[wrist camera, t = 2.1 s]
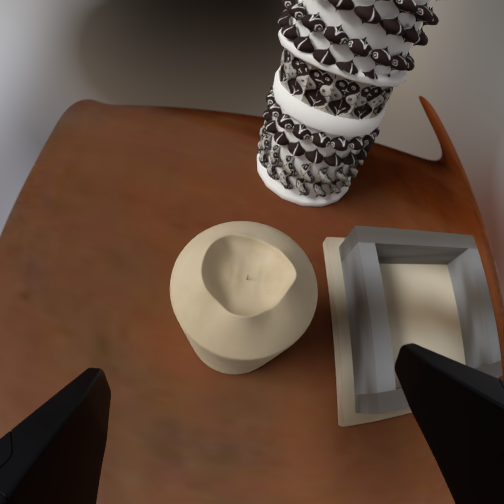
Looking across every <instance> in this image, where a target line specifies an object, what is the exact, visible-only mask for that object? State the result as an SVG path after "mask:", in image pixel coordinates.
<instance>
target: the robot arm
mask: <svg viewBox="0 0 504 504" xmlns="http://www.w3.org/2000/svg"><path fill="white" fill-rule="evenodd" d="M395 372H396V375H397V377H398V380H399V382H400V385H401V387H402V390H403V392H404V395H405V397H406V400H407V402H408V405H409V407H410V409H411V411H412V413H413V415H414V417H415V419H416V421H417V423H418V425H419V427H420V429H421V431H422V433H423V435H424V437H425V439H426V441H427V443H428V445H429V447H430V449H431V451H432V453H433V455H434V457H435V459H436V462H437V464H438V466H439V468H440V470H441V472H442V474H443V477H444V479H445V481H446V483H447V485H448V488H449V490H450V492H451V494H452V497H453V499H454V501H455V504H504V380H501V379H498V378H496V377H494V376H491V375H489V374H486V373H484V372H481V371H479V370H476V369H474V368H472V367H469V366H467V365H464V364H462V363H460V362H457V361H455V360H452V359H450V358H448V357H445V356H443V355H440V354H438V353H436V352H433V351H431V350H429V349H426V348H424V347H422V346H419V345H417V344H415V343H409V344H405V345H403V346H402V347H401V348H400V350H399V354H398V357H397V360H396V363H395ZM110 399H111V391H110V387H109V385H108V382H107V379H106V376H105V373H104V371H103V370H102V369H100V368H88V369H87V370H86V371H84V372H83V373H82V374H80V375H79V376H78V377H77V378H75V379H74V380H73V381H72V382H70V383H69V384H68V385H67V386H65V387H64V388H63V389H62V390H60V391H59V392H58V393H57V394H55V395H54V396H53V397H52V398H50V399H49V400H48V401H47V402H45V403H44V404H43V405H42V406H40V407H39V408H38V409H37V410H35V411H34V412H33V413H32V414H31V415H29V416H28V417H27V418H26V419H24V420H23V421H22V422H21V423H19V424H18V425H17V426H16V427H14V428H13V429H12V430H11V432H10V431H9V432H8V433H7V434H6V435H4V436H3V437H2V438H1V439H0V504H96V500H97V493H98V486H99V480H100V474H101V468H102V462H103V457H104V451H105V446H106V440H107V431H108V419H109V409H110Z"/></svg>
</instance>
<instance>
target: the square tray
mask: <svg viewBox="0 0 504 504" xmlns="http://www.w3.org/2000/svg"><path fill="white" fill-rule="evenodd" d="M323 250H324V257H325V265H326V273H327V281H328V290H329V299H330V308H331V318H332V329H333V341H334V354H335V368H336V384H337V405H338V426H343V427H345V426H351V425H357V424H363V423H368V422H373V421H378V420H382V419H387V418H391V417H395V416H400V415H404V414H408V413H411V412H412V411H411V409H410V407H409V405H408V402H407V400H406V397H405V395H404V392H403V390H402V387H401V385H400V382H399V380H398V377H397V375H396V372H395V363H396V360H397V357H398V354H399V350H400V348H401V347H402V346H403V345H405V344H409V343H415V344H417V345H419V346H422V347H424V348H426V349H429V350H431V351H433V352H436V353H438V354H440V355H443V356H445V357H448V358H450V359H452V360H455V361H457V362H460V363H462V364H464V365H467V366H469V367H472V368H474V369H476V370H479V371H481V372H484V373H486V374H489V375H491V376H494V377H496V378H498V377H501V376H503V372H502V362H501V353H500V346H499V339H498V333H497V327H496V321H495V316H494V311H493V306H492V301H491V297H490V293H489V288H488V284H487V280H486V277H485V273H484V269H483V266H482V262H481V259H480V255H479V252H478V249H477V246H476V243H475V240H474V237H473V236H472V235H463V234H453V233H442V232H431V231H420V230H408V229H396V228H383V227H369V226H354V227H353V229H352V230H351V231H350V233H349V234H348V235H347V237H346V238H335V237H327V238H326V239H325V241H324V242H323Z"/></svg>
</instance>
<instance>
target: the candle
mask: <svg viewBox="0 0 504 504" xmlns="http://www.w3.org/2000/svg"><path fill="white" fill-rule="evenodd" d="M170 297H171V302H172V307H173V310H174V313H175V315H176V317H177V319H178V321H179V323H180V325H181V327H182V329H183V331H184V332H185V334H186V336H187V338H188V340H189V342H190V343H191V345H192V347H193V349H194V350H195V352H196V354H197V355H198V356H199V358H200V359H201V360H202V361H203V362H204V363H205V364H207V365H208V366H209V367H211V368H212V369H214V370H216V371H219V372H222V373H226V374H244V373H248V372H251V371H253V370H256V369H257V368H259V367H261V366H263V365H264V364H266V363H267V362H268V361H270V360H271V359H273V358H274V357H276V356H277V355H279V354H280V353H282V352H283V351H284V350H286V349H287V348H289V347H290V346H291V345H292V344H294V343H295V342H296V341H297V340H298V339H299V338H300V337H301V336H302V335H303V334H304V332H305V331H306V329H307V328H308V326H309V325H310V323H311V320H312V318H313V316H314V313H315V310H316V305H317V299H318V287H317V280H316V276H315V272H314V270H313V267H312V264H311V263H310V261H309V259H308V257H307V256H306V254H305V253H304V251H303V250H302V249H301V248H300V247H299V245H298V244H297V243H296V242H294V241H293V240H292V239H291V238H290V237H288V236H287V235H286V234H284V233H283V232H281V231H279V230H277V229H275V228H273V227H270V226H267V225H264V224H261V223H256V222H249V221H235V222H228V223H222V224H219V225H216V226H213V227H211V228H209V229H207V230H205V231H203V232H202V233H200V234H198V235H197V236H196V237H195V238H193V239H192V240H191V241H190V242H189V243H188V244H187V245H186V246H185V248H184V249H183V250H182V252H181V253H180V255H179V257H178V258H177V260H176V262H175V265H174V268H173V271H172V275H171V281H170Z"/></svg>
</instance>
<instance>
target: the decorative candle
mask: <svg viewBox="0 0 504 504" xmlns="http://www.w3.org/2000/svg"><path fill="white" fill-rule="evenodd" d="M429 2H430V0H282V4H283V5H284V6H285V7H286V8H287V9H285V10H284V11H283V12H282V16H281V17H280V18H279V19H278V24H279V25H280V26H281V27H282V29H280V31H279V34H278V36H279V39H280V42H281V45H282V46H283V47H284V48H285V49H284V51H283V53H282V58H281V66H280V68H279V69H278V70H277V72H276V74H275V79H274V85H273V86H272V87H271V89H270V93H269V94H268V95H267V96H266V101H267V103H268V110H266V111H264V114H263V117H264V119H265V122H264V126H262V128H261V129H260V138H261V141H260V142H259V143H258V152H259V153H258V155H257V169H258V173H259V175H260V177H261V178H262V180H263V182H264V183H265V185H266V187H268V188H269V189H270V190H272V191H273V192H274V193H275V194H277V195H278V196H279V197H281V198H282V199H284V200H287V201H290V202H292V203H295V204H298V205H300V206H312V207H323V206H326V205H329V204H332V203H335V202H338V201H339V199H340V198H341V197H342V196H343V195H344V194H345V193H346V192H347V191H348V189H349V187H350V186H351V182H350V179H351V177H353V178H355V177H356V175H357V173H358V170H357V169H356V168H355V166H357V165H359V166H362V165H363V163H364V162H363V160H362V159H364V158H365V157H366V155H367V151H369V150H370V149H371V144H373V143H374V141H375V137H376V136H378V134H379V128H378V126H379V124H380V121H381V120H382V117H383V116H384V114H385V104H386V102H387V101H388V99H389V97H390V95H391V93H392V91H393V87H397V86H399V85H400V84H402V83H403V82H405V81H406V79H407V71H410V70H412V69H413V68H414V60H413V58H412V57H411V56H410V54H409V49H410V47H411V45H412V43H414V45H422V46H424V45H427V43H428V38H427V36H426V35H425V33H424V32H423V30H422V28H421V30H420V31H419V26H420V24H421V22H423V26H424V25H436V24H437V23H438V21H439V20H438V17H437V16H436V15H435V13H434V12H433V10H432V8H431V10H430V7H429V9H428V5H429ZM414 45H413V46H414Z"/></svg>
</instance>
